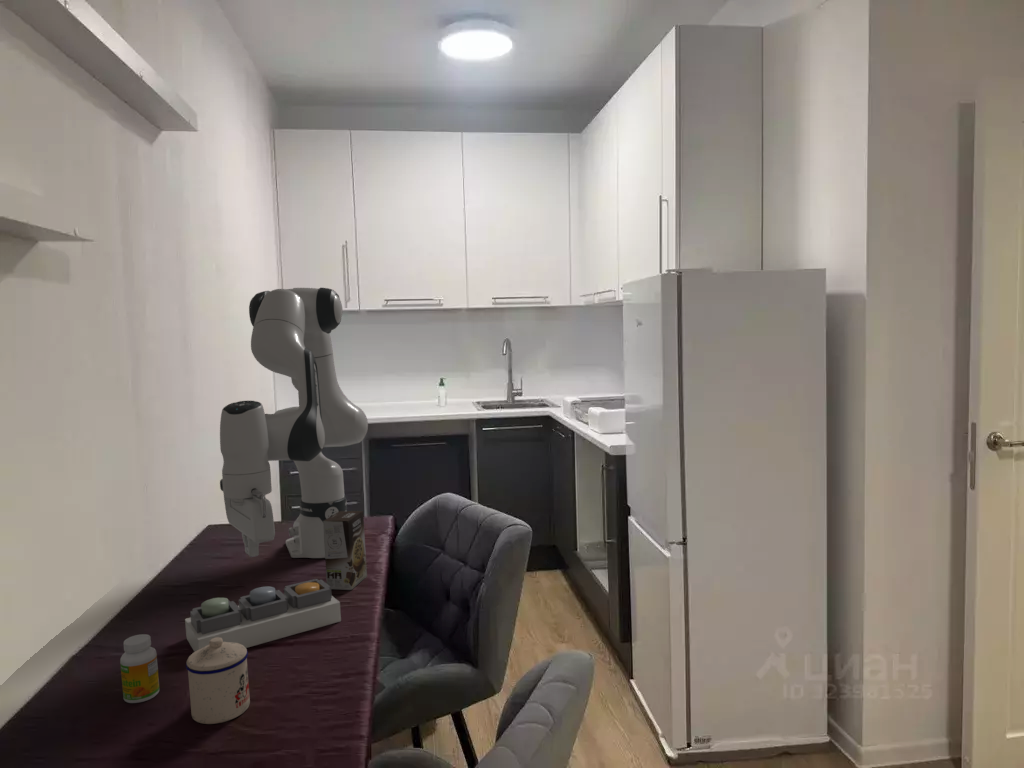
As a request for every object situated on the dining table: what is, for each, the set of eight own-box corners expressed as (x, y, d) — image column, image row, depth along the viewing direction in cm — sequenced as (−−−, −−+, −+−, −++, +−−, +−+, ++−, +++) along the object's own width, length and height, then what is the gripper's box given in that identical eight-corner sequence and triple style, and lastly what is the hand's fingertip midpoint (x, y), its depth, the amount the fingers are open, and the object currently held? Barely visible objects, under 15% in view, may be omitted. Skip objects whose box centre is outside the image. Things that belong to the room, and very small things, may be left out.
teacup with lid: (250, 719, 112) (244, 646, 111) (186, 731, 109) (180, 656, 108) (254, 682, 123) (249, 616, 122) (196, 692, 121) (190, 625, 119)
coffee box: (352, 590, 164) (348, 521, 162) (326, 589, 165) (321, 520, 164) (368, 576, 173) (364, 510, 171) (343, 575, 174) (339, 509, 173)
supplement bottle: (116, 703, 118) (110, 646, 117) (137, 686, 123) (132, 631, 122) (146, 704, 117) (141, 647, 116) (166, 687, 123) (161, 632, 122)
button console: (186, 638, 142) (184, 606, 141) (320, 603, 157) (318, 574, 156) (199, 660, 132) (197, 627, 131) (341, 621, 147) (339, 590, 147)
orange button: (292, 595, 150) (292, 586, 150) (315, 589, 153) (314, 580, 152) (300, 602, 146) (299, 592, 146) (323, 596, 149) (322, 587, 148)
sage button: (199, 611, 139) (198, 601, 139) (225, 605, 142) (224, 595, 142) (205, 619, 136) (204, 609, 135) (231, 613, 138) (231, 603, 138)
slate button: (247, 600, 145) (246, 590, 144) (271, 594, 147) (271, 584, 147) (254, 607, 141) (253, 597, 140) (278, 601, 143) (278, 591, 143)
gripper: (280, 491, 134) (285, 564, 135) (249, 475, 151) (253, 540, 152) (246, 496, 130) (251, 571, 131) (217, 480, 147) (222, 546, 148)
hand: (252, 554), depth 142 cm, fingers closed
